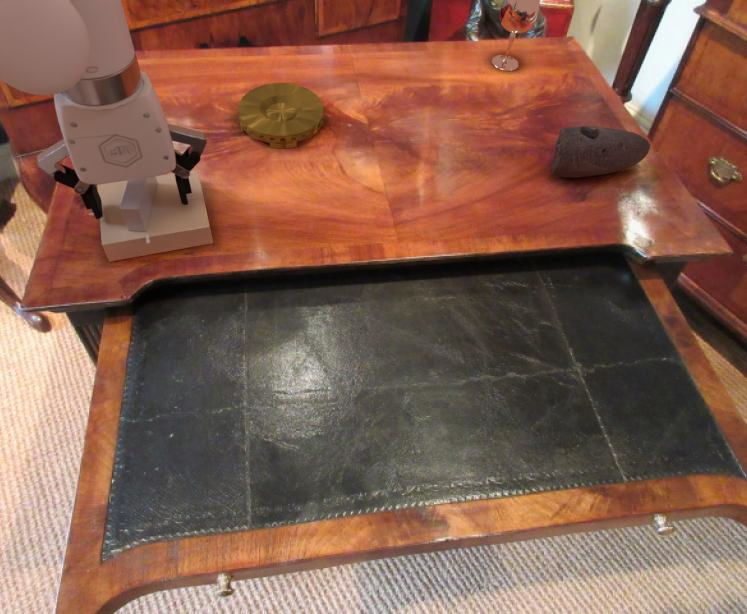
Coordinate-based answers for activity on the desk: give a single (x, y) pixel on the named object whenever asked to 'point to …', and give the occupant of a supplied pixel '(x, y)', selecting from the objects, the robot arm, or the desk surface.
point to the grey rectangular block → (138, 202)
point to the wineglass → (515, 26)
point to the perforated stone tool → (596, 151)
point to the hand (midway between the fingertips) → (142, 203)
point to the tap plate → (155, 220)
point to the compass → (281, 114)
